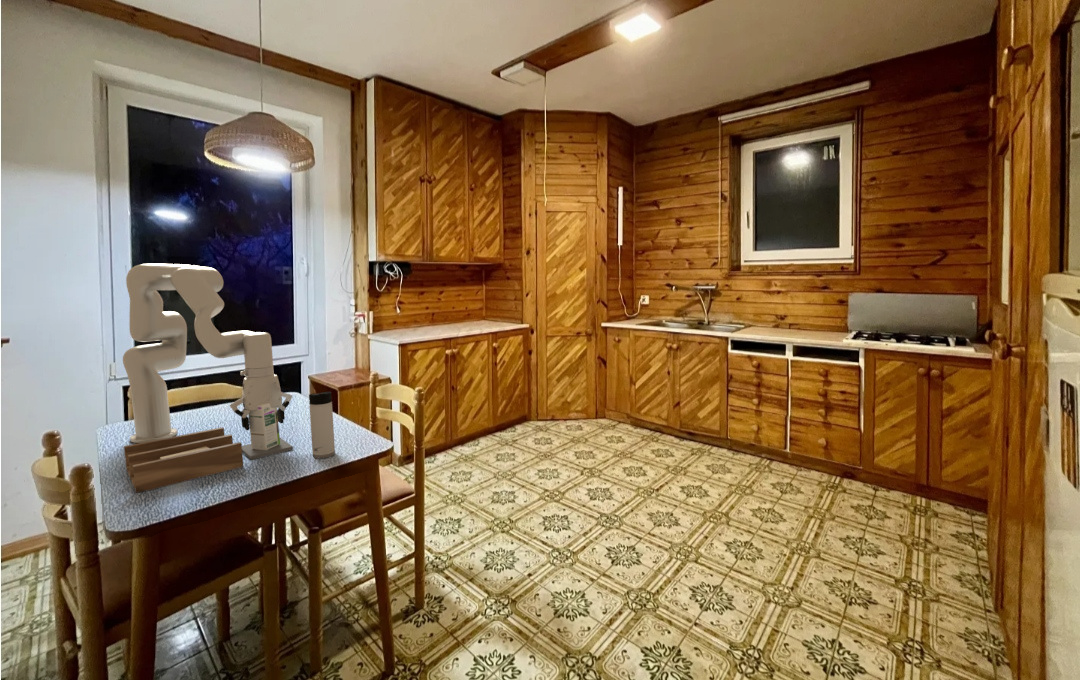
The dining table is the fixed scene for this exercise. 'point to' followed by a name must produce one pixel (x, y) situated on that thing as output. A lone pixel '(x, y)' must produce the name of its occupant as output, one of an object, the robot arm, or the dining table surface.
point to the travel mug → (322, 425)
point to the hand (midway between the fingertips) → (264, 425)
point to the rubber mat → (261, 453)
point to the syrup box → (264, 427)
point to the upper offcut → (186, 452)
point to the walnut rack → (181, 458)
